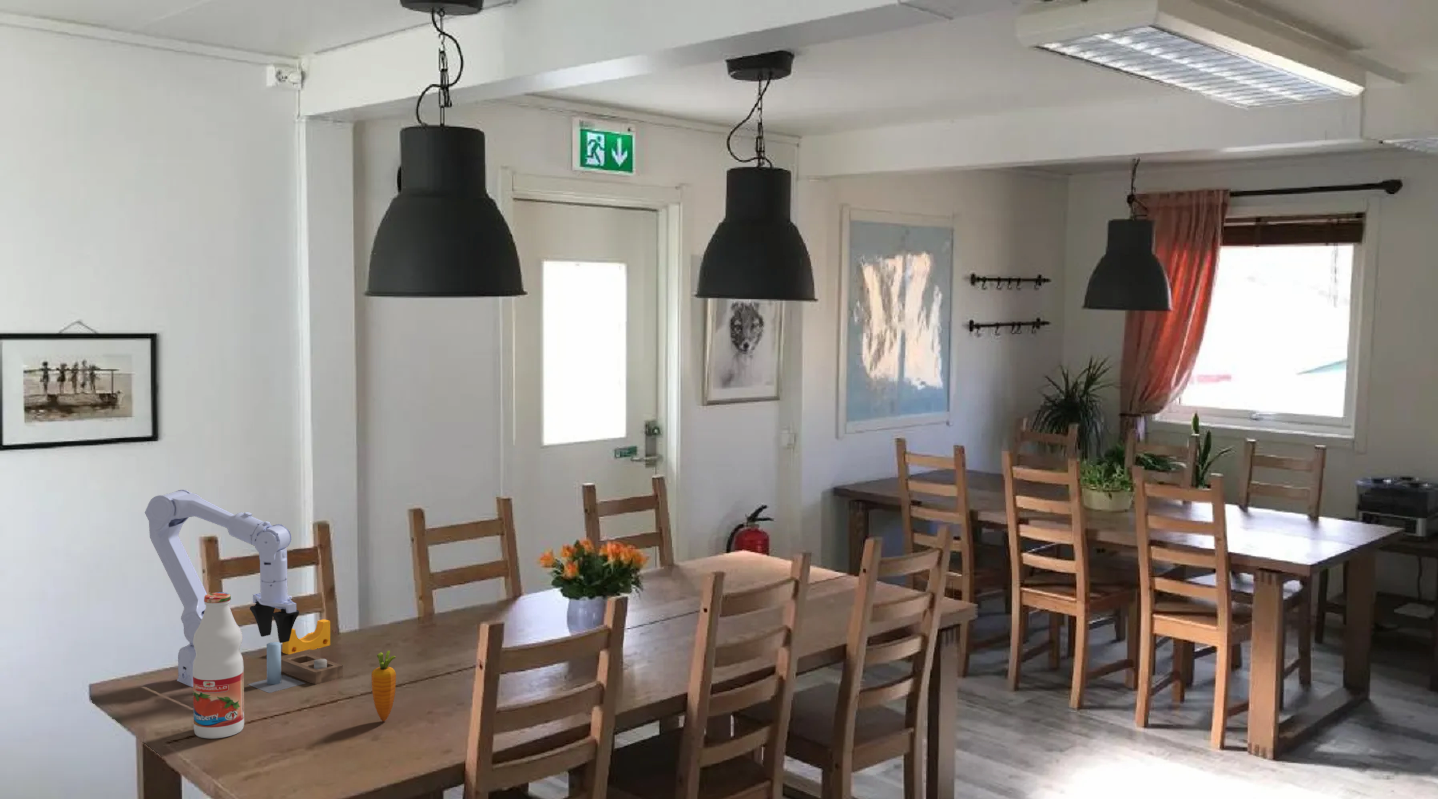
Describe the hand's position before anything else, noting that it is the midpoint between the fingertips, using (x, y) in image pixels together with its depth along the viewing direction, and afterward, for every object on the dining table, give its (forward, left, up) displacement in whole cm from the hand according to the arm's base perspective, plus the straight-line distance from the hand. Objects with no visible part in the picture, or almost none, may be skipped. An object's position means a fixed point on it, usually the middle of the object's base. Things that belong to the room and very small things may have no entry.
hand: (274, 638), depth 265 cm
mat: (0, -1, -11) cm, 11 cm away
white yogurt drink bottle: (-23, -18, -11) cm, 31 cm away
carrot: (+2, -38, -11) cm, 40 cm away
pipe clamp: (+20, +19, -11) cm, 30 cm away
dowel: (0, 0, -10) cm, 10 cm away
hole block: (+9, -1, -11) cm, 14 cm away
